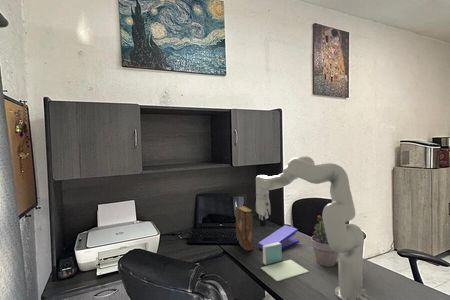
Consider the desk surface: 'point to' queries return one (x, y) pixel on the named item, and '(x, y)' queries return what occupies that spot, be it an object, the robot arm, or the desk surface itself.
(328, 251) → the potted plant
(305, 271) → the desk mat
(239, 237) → the book
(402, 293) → the desk surface
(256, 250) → the desk surface
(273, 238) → the stapler
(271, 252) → the tile
